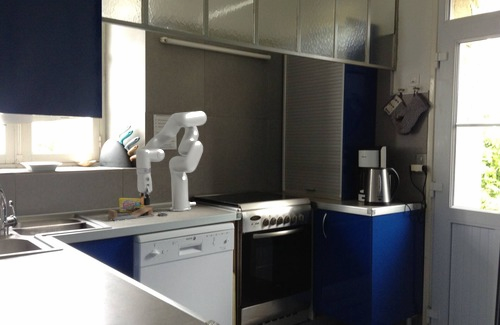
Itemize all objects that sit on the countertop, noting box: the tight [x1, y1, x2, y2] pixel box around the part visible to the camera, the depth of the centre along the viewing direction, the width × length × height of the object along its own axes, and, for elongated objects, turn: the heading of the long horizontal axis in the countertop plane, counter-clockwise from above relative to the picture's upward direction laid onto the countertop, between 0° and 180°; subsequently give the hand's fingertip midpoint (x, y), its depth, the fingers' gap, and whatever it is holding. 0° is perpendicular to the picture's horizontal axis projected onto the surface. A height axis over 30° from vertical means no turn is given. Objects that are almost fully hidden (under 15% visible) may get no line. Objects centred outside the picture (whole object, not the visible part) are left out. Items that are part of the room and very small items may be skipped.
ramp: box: [107, 205, 154, 221], centre depth 251 cm, size 22×9×5 cm, turn 126°
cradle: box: [157, 212, 168, 217], centre depth 256 cm, size 3×5×1 cm, turn 36°
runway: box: [108, 212, 155, 222], centre depth 252 cm, size 22×9×2 cm, turn 126°
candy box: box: [118, 197, 145, 213], centre depth 270 cm, size 16×2×8 cm, turn 71°
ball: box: [139, 196, 144, 205], centre depth 256 cm, size 5×5×5 cm
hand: (144, 204), depth 256 cm, fingers closed on ball, 4 cm apart
